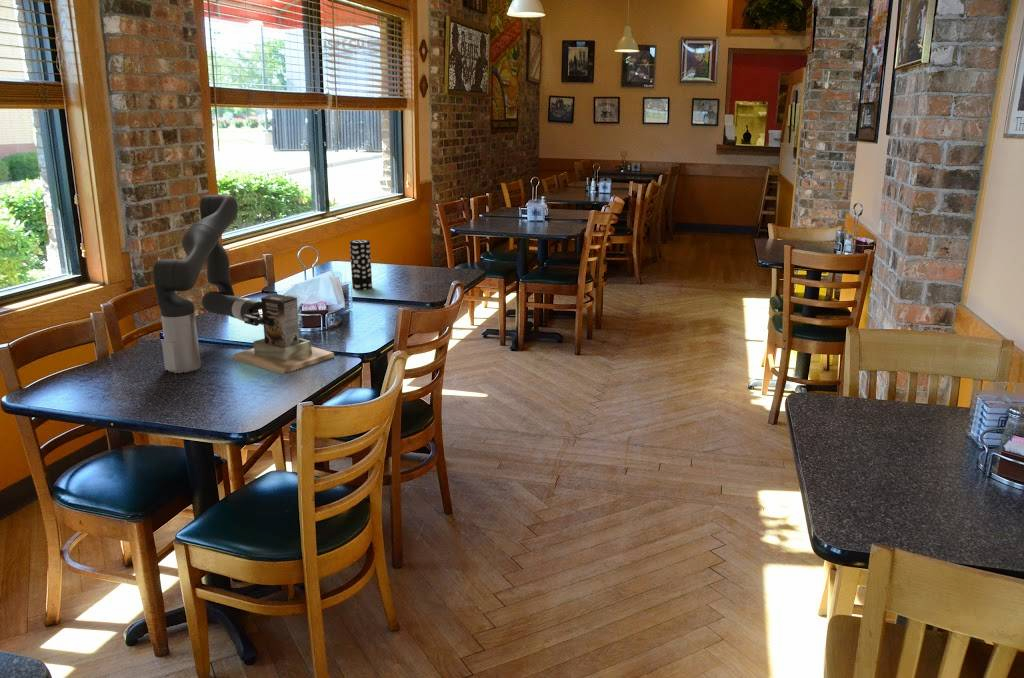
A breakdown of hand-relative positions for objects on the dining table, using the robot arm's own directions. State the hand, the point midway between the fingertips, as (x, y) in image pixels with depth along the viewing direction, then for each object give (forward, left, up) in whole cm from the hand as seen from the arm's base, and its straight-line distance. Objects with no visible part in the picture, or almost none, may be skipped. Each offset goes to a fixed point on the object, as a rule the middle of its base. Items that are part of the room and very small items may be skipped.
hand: (282, 319), depth 244 cm
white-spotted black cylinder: (+80, +50, -13) cm, 95 cm away
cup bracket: (0, +1, -13) cm, 13 cm away
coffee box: (0, +1, -9) cm, 9 cm away
